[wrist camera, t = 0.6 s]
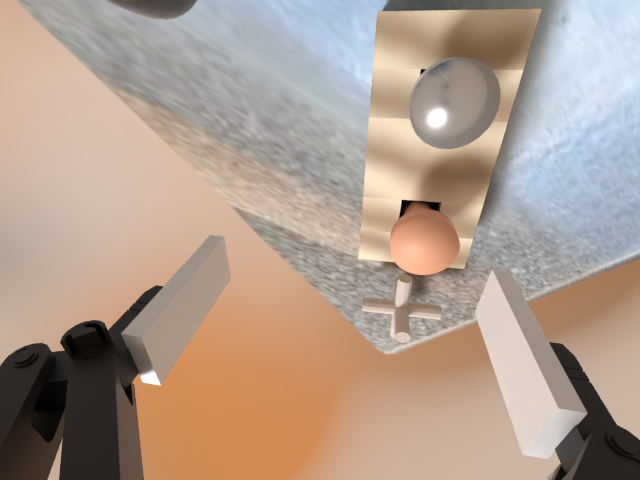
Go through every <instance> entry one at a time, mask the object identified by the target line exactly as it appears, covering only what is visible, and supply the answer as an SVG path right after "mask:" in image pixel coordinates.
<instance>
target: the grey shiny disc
mask: <svg viewBox="0 0 640 480" xmlns="http://www.w3.org/2000/svg"><path fill="white" fill-rule="evenodd" d="M500 99H501V92H500V85H499V82H498V79H497V77H496V75H495V74H494V72H493V71H492V70H491V69H490V68H489V67H488V66H487V65H486V64H484V63H482V62H480V61H478V60H475V59H471V58H465V57H451V58H446V59H443V60H440V61H438V62H436V63H434V64H433V65H431V66H430V67H429V68H427V69H426V70H425V71H424V72H423V73H422V74H421V75H420V76H419V78H418V79H417V80H416V82H415V84H414V85H413V88H412V90H411V93H410V96H409V101H408V114H409V118H410V121H411V124H412V127H413V129H414V131H415V133H416V134H417V136H418V137H419V138H420V139H421V140H422V141H423V142H425V143H426V144H428V145H430V146H432V147H435V148H439V149H455V148H459V147H463V146H465V145H468V144H469V143H471V142H473V141H475V140H476V139H478V138H479V137H480V136H481V135H482V134H483V133H484V132H485V131H486V130H487V129H488V128H489V127H490V125H491V124H492V122H493V121H494V119H495V117H496V115H497V112H498V109H499V105H500Z"/></svg>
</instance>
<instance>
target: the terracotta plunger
mask: <svg viewBox="0 0 640 480" xmlns="http://www.w3.org/2000/svg"><path fill="white" fill-rule="evenodd" d="M390 248H391V255H392V258H393V260H394V261H395V263H396V264H397V265H398V266H399V267H400V268H402V269H403V270H405V271H407V272H409V273H412V274H417V275H429V274H434V273H438V272H440V271H442V270H444V269H446V268H447V267H449V266H450V265H451V264H452V263H453V262H454V261H455V259H456V258H457V256H458V253H459V249H460V242H459V238H458V235H457V233H456V230H455V227H454V225H453V223H452V222H451V220H450V219H449V218H448V217H447V216H446V215H444V214H442V213H441V212H438V211H435V210H432V209H431V206H430V205H429V204H428V203H427V202H426V201H414V200H413V201H410V202H409V203H408V204H407V205H406V206H405V207H404V210H403V216H402V217H401V218H399V219H398V220H397V221H396V223H395V224H394V226H393V228H392V230H391V234H390Z"/></svg>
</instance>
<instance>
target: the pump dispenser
mask: <svg viewBox="0 0 640 480" xmlns="http://www.w3.org/2000/svg"><path fill="white" fill-rule="evenodd" d="M107 1H108V2H110V3H112V4H114V5H116V6H119V7H121V8H123V9H125V10H128V11H131V12H133V13H136V14H139V15H142V16H145V17H149V18H153V19H162V20H167V19H174V18H177V17H179V16H181V15H183V14H185V13H186V12H187V11H189V10H190V9H191V8H192V7H193V5H194V4H195V3H196V2H197V0H107Z"/></svg>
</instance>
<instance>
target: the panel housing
mask: <svg viewBox="0 0 640 480" xmlns="http://www.w3.org/2000/svg"><path fill="white" fill-rule="evenodd" d="M540 13H541V9H485V10H427V11H377V23H376V36H375V50H374V63H373V76H372V89H371V102H370V115H369V128H368V141H367V154H366V167H365V180H364V193H363V206H362V219H361V233H360V246H359V259H366V260H377V261H387V262H395V261H394V260H393V258H392V255H391V248H390V234H391V230H392V228H393V226H394V224H395V223H396V221H397V220H398V219H399V215H400V208H401V201H402V200H414V201H429V202H439V207H438V212H441V213H442V214H444V215H446V216H447V217H448V218H449V219H450V220H451V222H452V223H453V225H454V227H455V230H456V233H457V235H458V238H459V242H460V249H459V253H458V256H457V258H456V259H455V261H454V262H453V263H452V264H451V265H450V266H449V268H459V269H464V268H465V264H466V261H467V258H468V254H469V251H470V248H471V244H472V241H473V238H474V234H475V231H476V227H477V224H478V221H479V217H480V214H481V211H482V207H483V204H484V201H485V197H486V194H487V191H488V187H489V184H490V180H491V177H492V174H493V170H494V167H495V164H496V160H497V157H498V154H499V150H500V147H501V144H502V140H503V137H504V133H505V130H506V127H507V123H508V120H509V117H510V113H511V110H512V107H513V103H514V100H515V97H516V93H517V90H518V86H519V83H520V80H521V76H522V73H523V70H524V66H525V63H526V60H527V56H528V53H529V50H530V46H531V43H532V39H533V36H534V33H535V29H536V26H537V23H538V19H539V16H540ZM451 57H465V58H471V59H475V60H478V61H480V62H482V63H484V64H486V65H487V66H488V67H489V68H490V69H491V70H492V71H493V72H494V74H495V75H496V77H497V79H498V82H499V85H500V92H501V99H500V105H499V109H498V112H497V115H496V117H495V119H494V121H493V122H492V124H491V125H490V127H489V128H488V129H487V130H486V131H485V132H484V133H483V134H482V135H481V136H480V137H479V138H478V139H476V140H475V141H473V142H471V143H469V144H468V145H465V146H463V147H459V148H455V149H439V148H435V147H432V146H430V145H428V144H426V143H425V142H423V141H422V140H421V139H420V138H419V137H418V136H417V134H416V133H415V131H414V129H413V127H412V124H411V121H410V118H409V114H408V101H409V96H410V93H411V90H412V88H413V85H414V84H415V82H416V80H417V79H418V78H419V76H420V72H421V69H427V68H429V67H430V66H431V65H433V64H434V63H436V62H438V61H440V60H443V59H446V58H451Z"/></svg>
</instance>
